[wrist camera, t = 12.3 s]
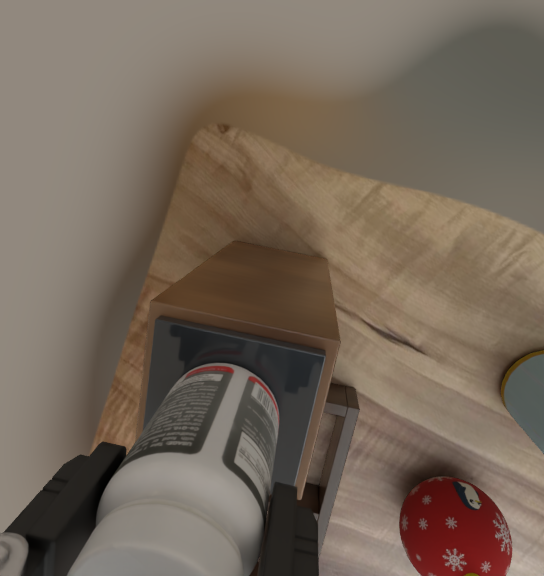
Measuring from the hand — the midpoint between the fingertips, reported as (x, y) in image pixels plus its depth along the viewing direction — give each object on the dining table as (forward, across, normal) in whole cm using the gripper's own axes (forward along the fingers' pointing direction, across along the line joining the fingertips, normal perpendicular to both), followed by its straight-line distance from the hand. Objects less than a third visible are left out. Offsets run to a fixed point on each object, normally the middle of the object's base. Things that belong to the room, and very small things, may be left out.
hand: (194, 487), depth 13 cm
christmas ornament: (+23, -19, +16) cm, 34 cm away
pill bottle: (+5, 0, 0) cm, 5 cm away
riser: (+23, 0, 0) cm, 23 cm away
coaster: (+5, 0, 0) cm, 5 cm away
